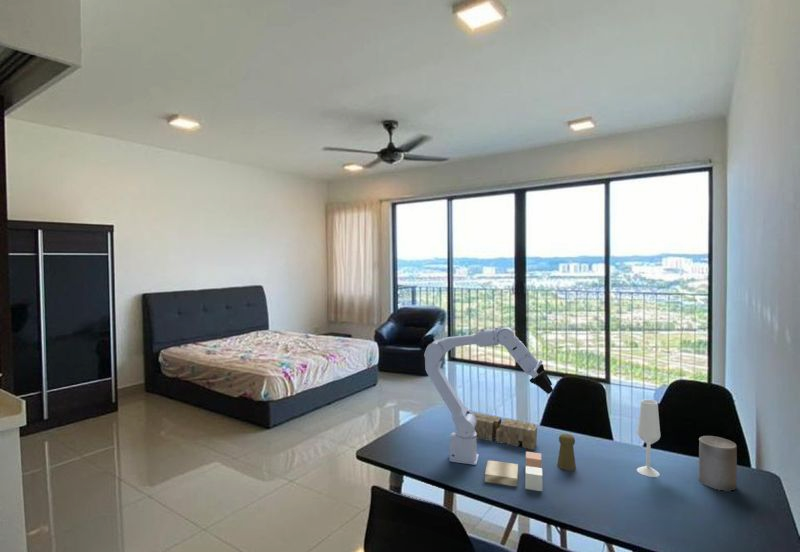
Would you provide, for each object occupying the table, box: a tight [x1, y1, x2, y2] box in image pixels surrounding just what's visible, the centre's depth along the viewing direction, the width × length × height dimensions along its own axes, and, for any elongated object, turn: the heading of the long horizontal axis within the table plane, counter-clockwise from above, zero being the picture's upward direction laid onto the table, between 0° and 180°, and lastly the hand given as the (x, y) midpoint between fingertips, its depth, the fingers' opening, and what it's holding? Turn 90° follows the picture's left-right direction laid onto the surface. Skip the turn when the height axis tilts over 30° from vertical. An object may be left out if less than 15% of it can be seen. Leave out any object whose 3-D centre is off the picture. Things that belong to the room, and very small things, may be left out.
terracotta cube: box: [525, 451, 543, 468], centre depth 144 cm, size 5×5×5 cm
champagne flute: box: [636, 398, 661, 478], centre depth 142 cm, size 7×7×24 cm
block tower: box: [469, 410, 538, 451], centre depth 169 cm, size 8×8×29 cm
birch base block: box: [484, 459, 519, 487], centre depth 139 cm, size 10×10×3 cm
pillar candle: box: [698, 435, 738, 492], centre depth 135 cm, size 10×10×15 cm
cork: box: [557, 433, 577, 472], centre depth 146 cm, size 6×6×11 cm
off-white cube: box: [524, 465, 543, 492], centre depth 133 cm, size 5×5×5 cm
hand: (550, 389), depth 142 cm, fingers open, 7 cm apart
